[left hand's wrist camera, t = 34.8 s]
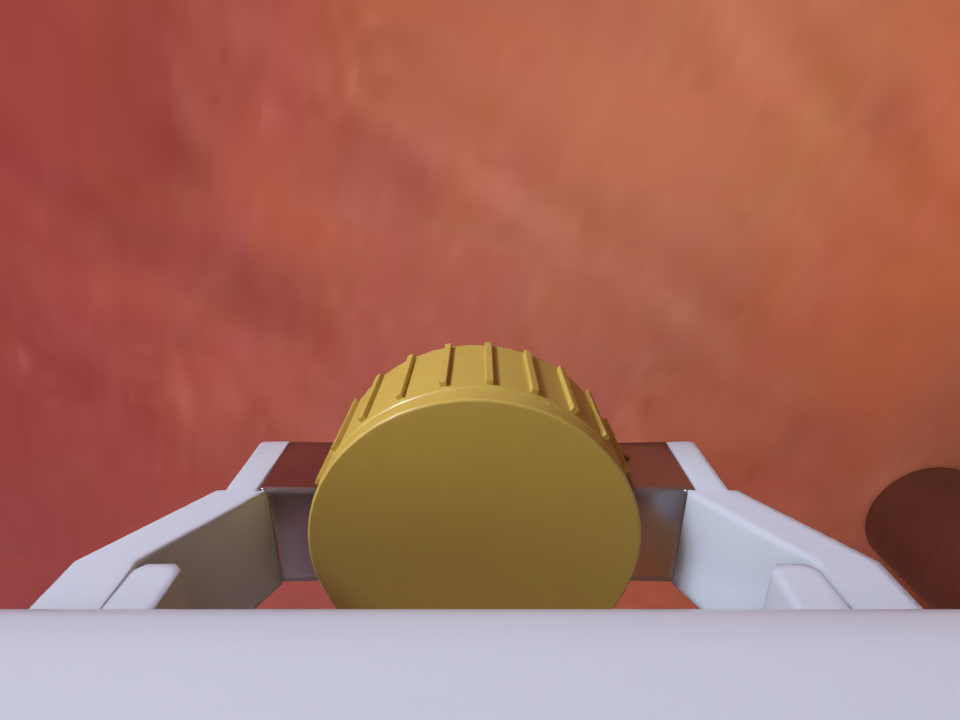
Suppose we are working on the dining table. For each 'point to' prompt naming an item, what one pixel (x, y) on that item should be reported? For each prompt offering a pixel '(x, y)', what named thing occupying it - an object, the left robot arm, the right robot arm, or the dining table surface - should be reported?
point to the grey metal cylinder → (921, 533)
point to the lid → (474, 491)
